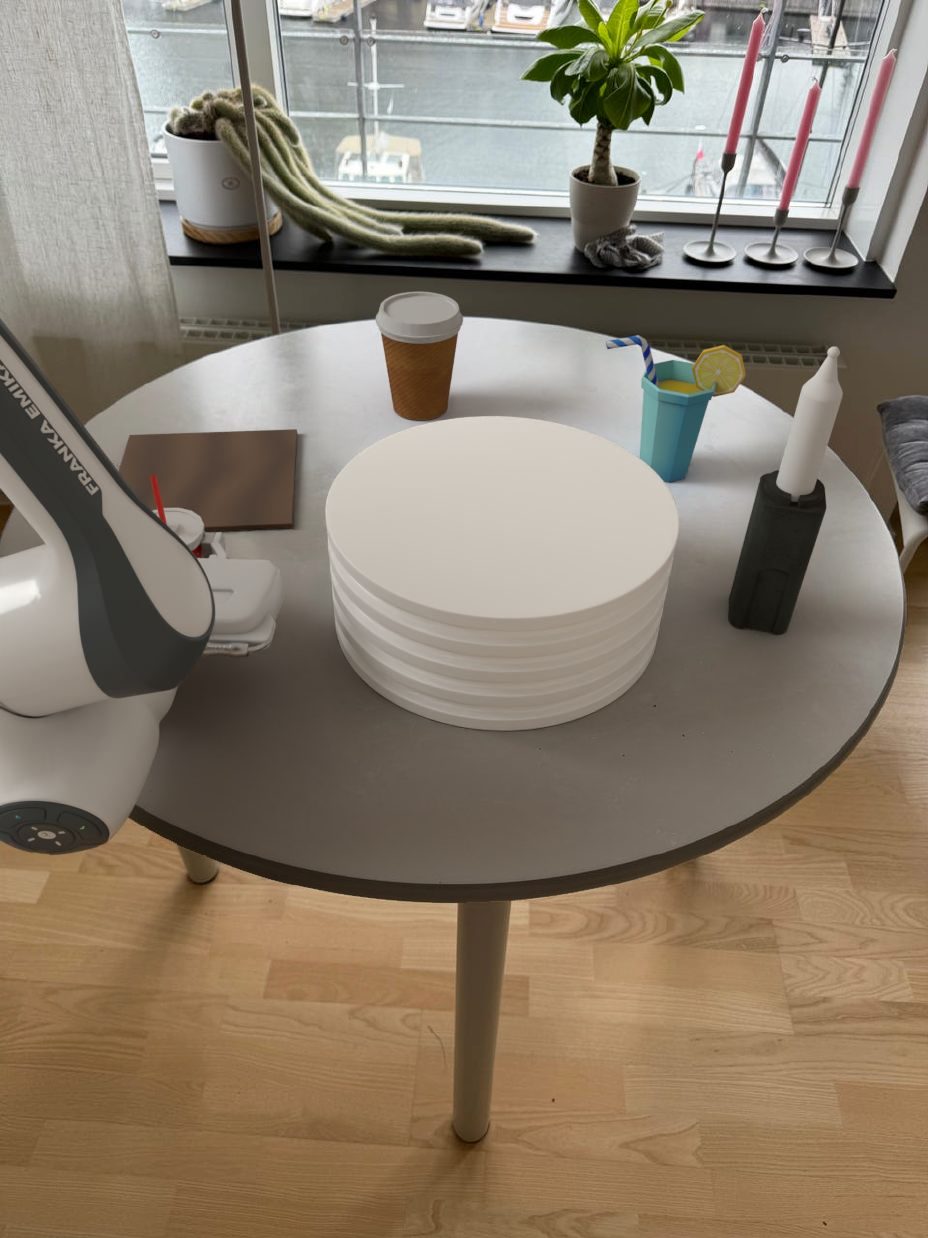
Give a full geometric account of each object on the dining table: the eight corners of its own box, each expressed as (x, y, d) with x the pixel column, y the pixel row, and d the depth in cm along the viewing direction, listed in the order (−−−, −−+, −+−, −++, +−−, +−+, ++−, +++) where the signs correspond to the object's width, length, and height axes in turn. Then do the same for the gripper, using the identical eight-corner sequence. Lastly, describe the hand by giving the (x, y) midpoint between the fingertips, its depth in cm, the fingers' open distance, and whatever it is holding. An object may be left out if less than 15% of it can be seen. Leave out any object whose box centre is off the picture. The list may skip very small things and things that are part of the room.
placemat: (101, 536, 92) (99, 531, 91) (130, 439, 105) (129, 434, 105) (292, 528, 93) (292, 523, 93) (297, 433, 107) (296, 428, 106)
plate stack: (598, 506, 97) (611, 403, 90) (709, 703, 77) (739, 591, 69) (319, 536, 92) (309, 430, 85) (357, 755, 72) (348, 641, 64)
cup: (595, 489, 100) (613, 353, 90) (585, 450, 105) (600, 318, 96) (729, 488, 100) (761, 353, 90) (711, 449, 106) (739, 318, 96)
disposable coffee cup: (362, 408, 111) (356, 307, 103) (418, 380, 117) (416, 282, 109) (423, 437, 107) (422, 334, 99) (478, 406, 112) (481, 306, 104)
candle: (786, 600, 86) (869, 336, 70) (787, 637, 83) (875, 367, 66) (728, 591, 87) (797, 327, 71) (727, 627, 84) (799, 358, 67)
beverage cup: (222, 631, 82) (195, 492, 73) (147, 642, 81) (110, 502, 71) (217, 587, 86) (192, 450, 77) (147, 596, 85) (112, 459, 76)
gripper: (263, 622, 67) (293, 508, 77) (-33, 614, 67) (37, 501, 77) (273, 687, 71) (300, 571, 81) (-6, 679, 71) (57, 564, 81)
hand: (170, 537), depth 79 cm, fingers closed on beverage cup, 6 cm apart
